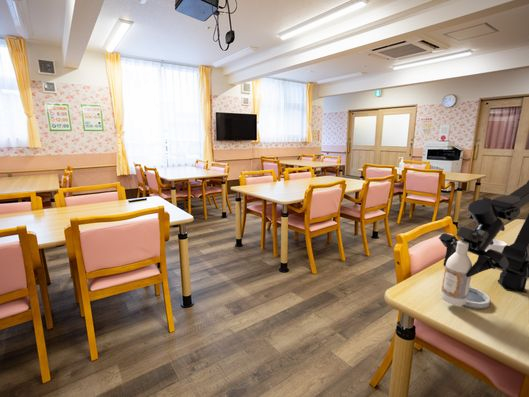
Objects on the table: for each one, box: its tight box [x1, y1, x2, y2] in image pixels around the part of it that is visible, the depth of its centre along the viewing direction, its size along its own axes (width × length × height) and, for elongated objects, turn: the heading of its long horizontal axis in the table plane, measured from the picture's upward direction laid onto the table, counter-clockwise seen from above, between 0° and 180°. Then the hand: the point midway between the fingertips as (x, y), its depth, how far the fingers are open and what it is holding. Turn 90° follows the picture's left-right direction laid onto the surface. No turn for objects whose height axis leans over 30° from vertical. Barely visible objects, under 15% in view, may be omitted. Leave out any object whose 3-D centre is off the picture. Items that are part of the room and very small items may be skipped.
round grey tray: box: [461, 285, 491, 310], centre depth 97 cm, size 12×12×2 cm
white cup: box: [485, 238, 508, 253], centre depth 122 cm, size 8×8×10 cm
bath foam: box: [440, 240, 473, 306], centre depth 90 cm, size 7×7×20 cm
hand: (455, 270), depth 89 cm, fingers closed on bath foam, 7 cm apart
